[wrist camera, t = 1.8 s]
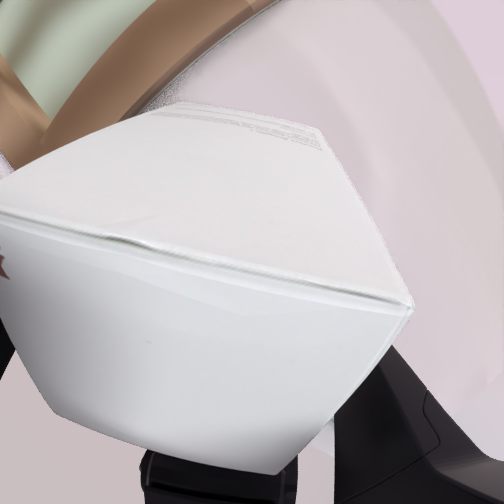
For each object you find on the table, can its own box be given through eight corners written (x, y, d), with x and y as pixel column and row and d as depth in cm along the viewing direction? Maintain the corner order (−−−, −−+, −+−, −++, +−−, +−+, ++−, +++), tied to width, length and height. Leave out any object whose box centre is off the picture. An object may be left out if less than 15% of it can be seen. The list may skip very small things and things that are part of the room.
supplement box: (163, 225, 18) (46, 413, 7) (178, 97, 14) (-47, 191, 3) (287, 254, 18) (276, 481, 7) (325, 128, 14) (434, 307, 3)
